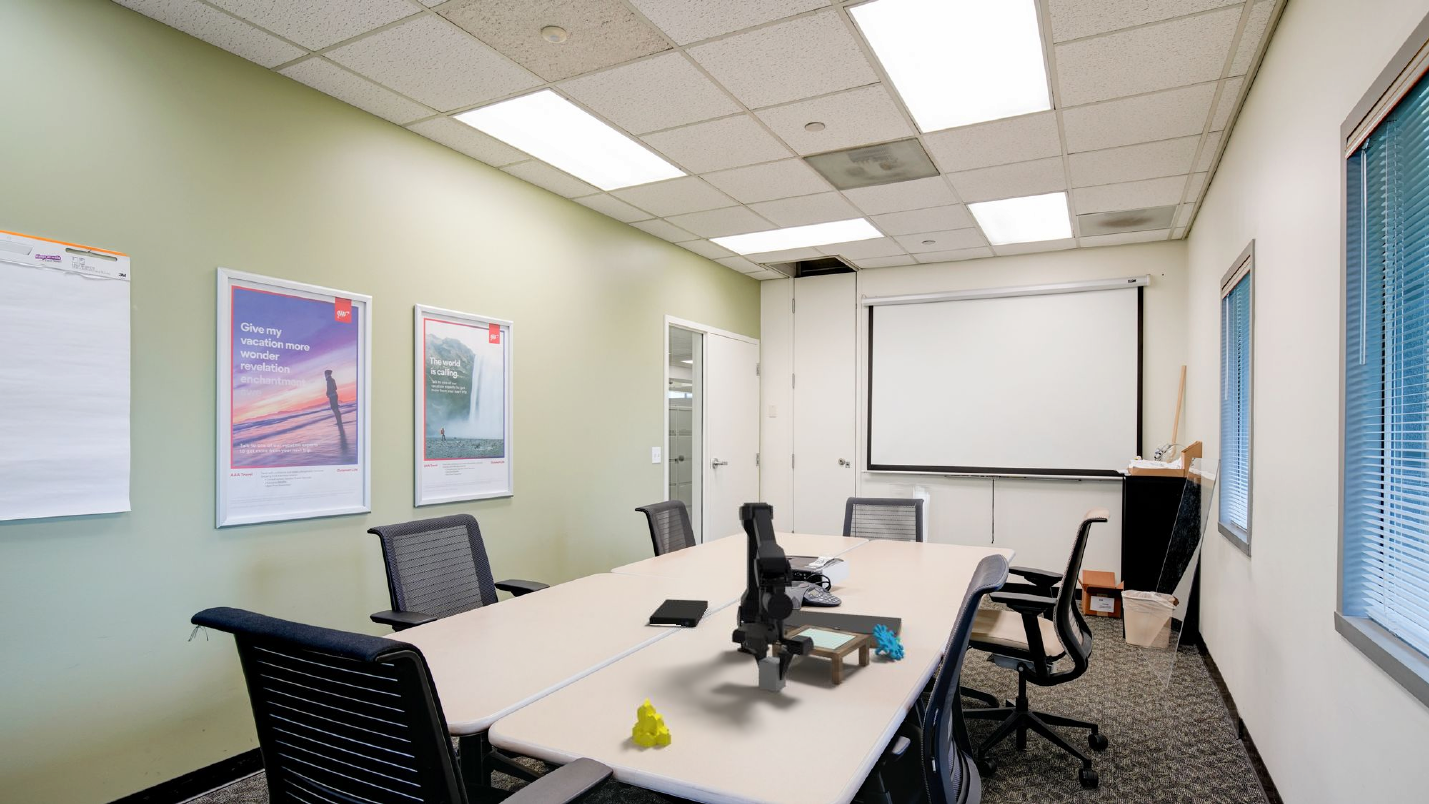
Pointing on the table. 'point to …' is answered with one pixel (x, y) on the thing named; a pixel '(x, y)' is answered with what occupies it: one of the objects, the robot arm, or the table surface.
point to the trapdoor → (827, 638)
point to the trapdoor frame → (834, 655)
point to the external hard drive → (679, 612)
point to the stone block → (770, 674)
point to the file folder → (843, 623)
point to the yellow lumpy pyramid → (650, 727)
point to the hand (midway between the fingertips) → (772, 677)
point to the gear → (888, 642)
